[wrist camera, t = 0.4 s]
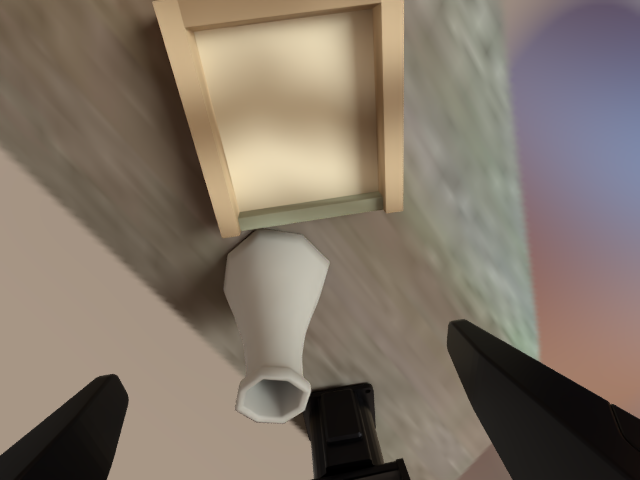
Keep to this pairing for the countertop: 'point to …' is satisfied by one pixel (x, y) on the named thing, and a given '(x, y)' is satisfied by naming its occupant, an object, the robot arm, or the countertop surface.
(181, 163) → the countertop surface
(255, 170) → the tray
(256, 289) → the flask
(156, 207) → the countertop surface
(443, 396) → the countertop surface
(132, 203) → the countertop surface
